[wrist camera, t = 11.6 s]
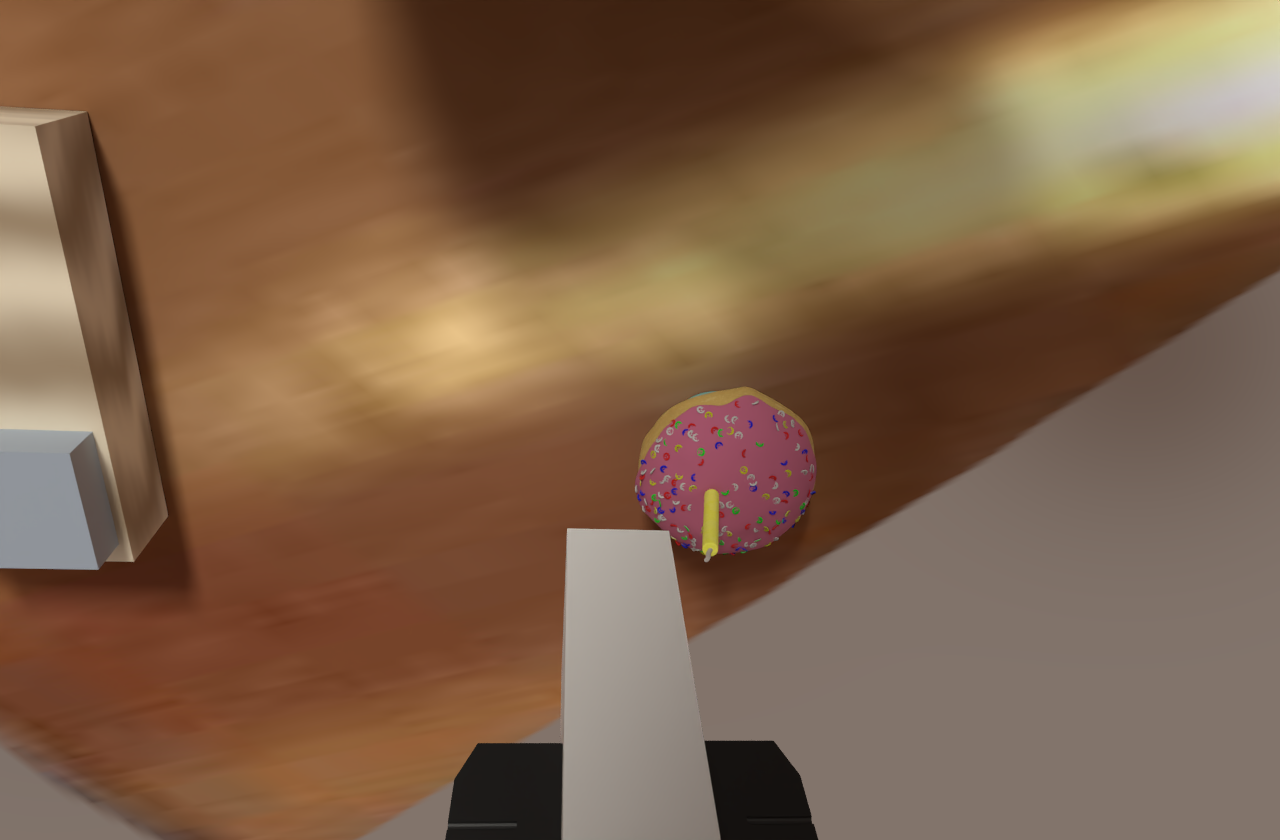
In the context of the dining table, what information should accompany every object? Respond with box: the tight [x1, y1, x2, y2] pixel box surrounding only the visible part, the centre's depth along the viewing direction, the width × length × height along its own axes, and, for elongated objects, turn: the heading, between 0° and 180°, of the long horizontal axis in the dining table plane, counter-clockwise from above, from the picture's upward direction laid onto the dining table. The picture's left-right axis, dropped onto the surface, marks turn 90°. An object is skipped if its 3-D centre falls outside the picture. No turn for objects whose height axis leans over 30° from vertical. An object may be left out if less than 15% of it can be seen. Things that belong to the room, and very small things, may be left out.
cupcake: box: [635, 387, 817, 562], centre depth 40 cm, size 9×8×12 cm
